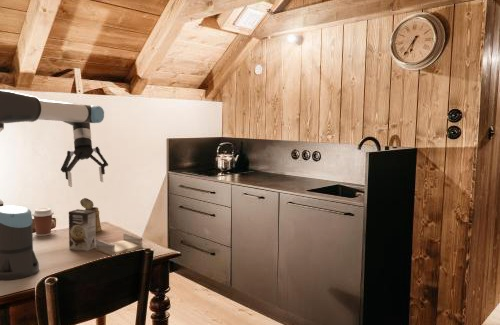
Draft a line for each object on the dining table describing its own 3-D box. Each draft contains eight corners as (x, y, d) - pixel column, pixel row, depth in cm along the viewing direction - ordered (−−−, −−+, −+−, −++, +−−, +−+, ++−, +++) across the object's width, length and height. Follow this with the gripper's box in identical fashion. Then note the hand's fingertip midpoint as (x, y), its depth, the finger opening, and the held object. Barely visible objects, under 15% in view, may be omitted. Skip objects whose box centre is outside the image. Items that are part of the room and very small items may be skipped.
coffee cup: (31, 233, 203) (31, 208, 202) (52, 230, 208) (51, 206, 207) (34, 237, 196) (33, 212, 194) (55, 235, 201) (54, 210, 199)
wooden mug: (75, 235, 201) (74, 197, 199) (86, 228, 214) (85, 192, 213) (94, 235, 201) (94, 198, 199) (104, 228, 215) (103, 193, 213)
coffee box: (68, 249, 180) (67, 211, 178) (77, 245, 186) (77, 208, 185) (87, 251, 178) (87, 213, 176) (96, 246, 184) (96, 210, 183)
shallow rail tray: (112, 255, 173) (112, 245, 173) (95, 249, 180) (95, 239, 180) (142, 247, 185) (142, 238, 184) (125, 242, 192) (125, 233, 192)
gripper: (112, 138, 202) (116, 181, 196) (57, 146, 198) (59, 190, 192) (108, 132, 194) (112, 177, 188) (51, 140, 191) (54, 186, 185)
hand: (86, 183), depth 190 cm, fingers open, 13 cm apart
